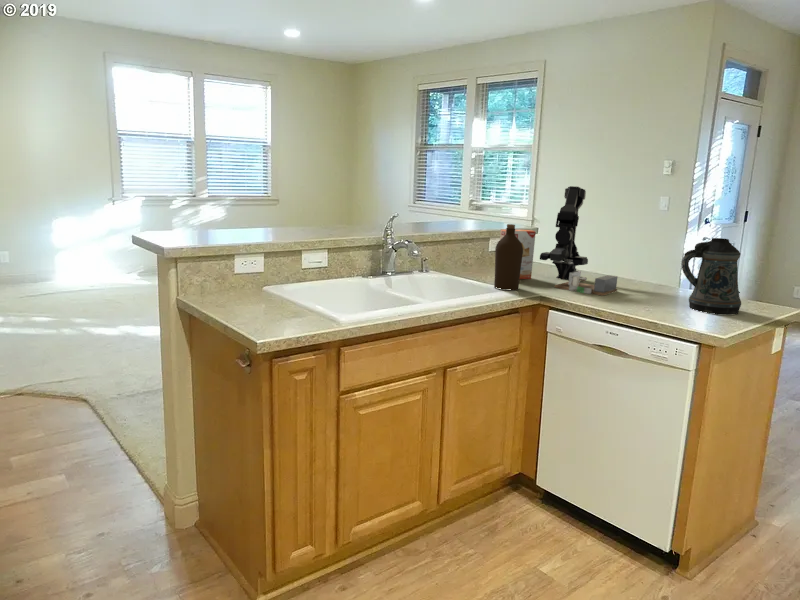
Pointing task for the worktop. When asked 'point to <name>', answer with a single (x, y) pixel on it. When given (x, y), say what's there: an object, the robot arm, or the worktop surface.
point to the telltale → (575, 281)
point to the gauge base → (582, 288)
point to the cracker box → (525, 250)
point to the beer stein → (714, 277)
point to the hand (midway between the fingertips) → (561, 279)
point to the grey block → (575, 273)
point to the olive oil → (508, 260)
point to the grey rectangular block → (605, 283)
